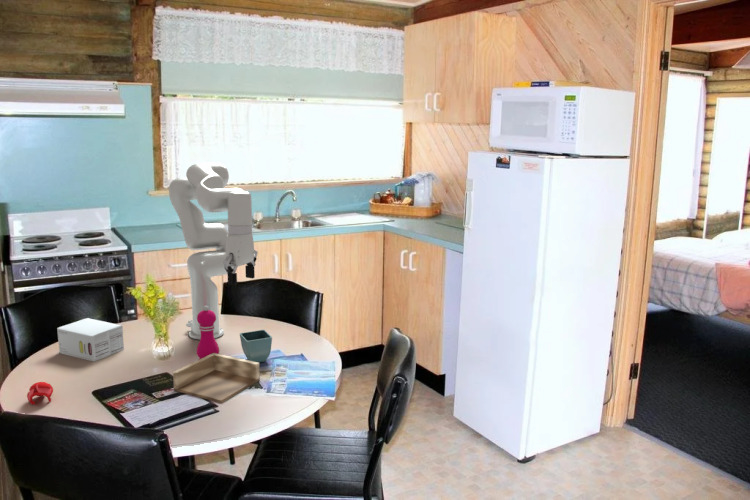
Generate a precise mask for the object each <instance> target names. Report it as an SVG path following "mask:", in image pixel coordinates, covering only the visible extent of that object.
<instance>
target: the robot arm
mask: <svg viewBox="0 0 750 500" xmlns="http://www.w3.org/2000/svg"><path fill="white" fill-rule="evenodd" d="M185 174H186V176H184V177H178V178H175V179H173V180H171V182H170V183H169V187H168V194H169V200H170V202H171V205H172V207H173V209H174V210H175V212H176V213H177V216H178V219H179V221H180V226H181V230H182V233H183V237H184V241H185V244H186V247H187V248H188V250H190V251H199V252H194V253H192V254H190V255H189V257H188V259H187V261H186V264H187V271H188V275H189V280H190V290H191V291H190V292H191V293H190V294H191V312H192V313H191V315H192V320H191V319H189V320H188V321H187V322H186V325H185V326H186V327H188V328H190V330H189V332H188V336H189V338H191V339H193V340H198V341H200V339H201V331H200V330H199V325H200V324H199V323H198V321H197V316H198V314H199V313H200V312H201V311H203V310H204V309H203V308H204V306H208V307H209V310H211V311H213V312H214V313H215V315H216V321H215V322H214V324H215V329H214V330H213V334H214V338H215V339H217V338H221V336H224V332H225V331H224V329H223V328H221V327H220V313H219V311H220V310H219V308H220V307H219V289H218V285H217V284H216V283H215V282H214V280H212V279H211V278H214V277H219V276H226V275H227V285H229V286H237V285H238V274H237V273H236V271H237V269H238V267H241V266H243V265H245V278H246V279H255V275H256V274H255V273H256V272H255V266H256V261H257V259H258V257H257V256H258V254H259V253H258V251H257V250H256V249H255V243H254V238H253V237H254V235H253V215H252V214H253V213H252V212H253V211H252V210H253V209H252V207H253V205H252V204H253V203H252V202H253V200H252V194H251V193H250V192H249V191H246V190H244V189H242V188H240V187H229V188H228V187H226V185H228V182H229V178H230V177H229V170H228V168H227V167H226V166H225V164H222V163H220V162H201V163H194V164H192V165H190V166H189V167H188V168H187V170H186V173H185ZM192 200H195V201H196V200H197V203H198V205H199V206H200V207H201V208H203V210H204V211H206V212H209V213H221V212H227V227H226V226H225V225H224V224H223V223H221V222H212V223H207V222H206V221H205V218H204V215H203V212H202V211H201V209H200V208H199V207H198V206H197V205H196V204H195V203H193V202H192ZM211 249H215V250H211ZM203 250H206V251H203Z"/></svg>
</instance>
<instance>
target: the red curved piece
mask: <svg viewBox="0 0 750 500" xmlns="http://www.w3.org/2000/svg"><path fill="white" fill-rule="evenodd" d="M53 393H54V388H53V386H52V385H51V384H50V383H48V382H45V381H38V382H35V383H33V384H31V386H29V390H28V392H27V395H26V397H27V401H28V403H30V404H31V405H35V404H36V402H35V401H34V400H33V398H34V397H46V398H47V399H48V402H49V403H51V402H52V398H51V397H52V395H53Z"/></svg>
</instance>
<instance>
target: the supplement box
mask: <svg viewBox="0 0 750 500" xmlns="http://www.w3.org/2000/svg"><path fill="white" fill-rule="evenodd" d="M56 329H57V330H56V331H57V340H58V350H59V354H62V355H66V356H70V357H74V358H78V359H82V360H87V361H90V362H91V361H92V362H97V361H99V360H101V359H104V358H107V357H109V356H112V355H114V354H116V353H119V352H121V351H124V350H125V346H124V345H125V344H124V328H123V324H118V323H112V322H109V321H108V322H107V321H104V320H100V319H94V318H93V319H92V318H89V317H87V318H86V317H85V318H84V319H83V318H82V319H80V320H78V321H73V322H71V323H68V324H65V325H62V326H59V327H57V328H56Z"/></svg>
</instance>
